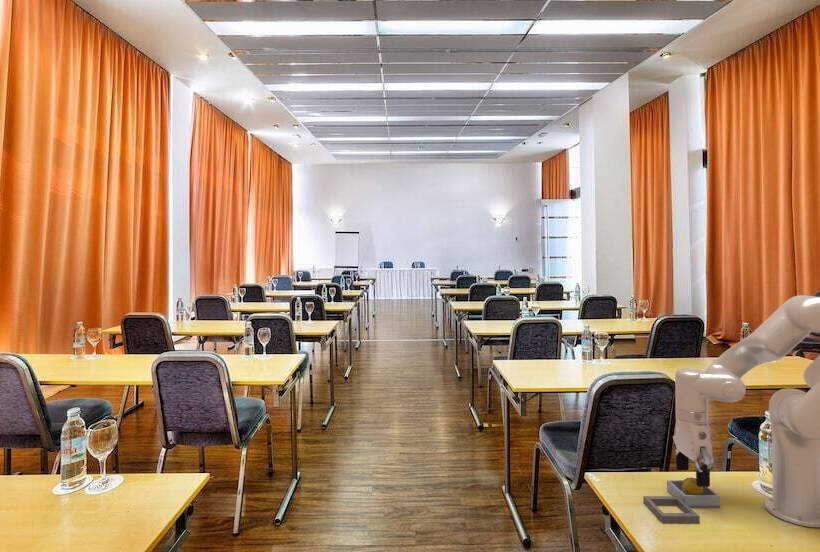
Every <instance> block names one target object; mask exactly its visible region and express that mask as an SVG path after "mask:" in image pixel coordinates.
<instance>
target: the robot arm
mask: <svg viewBox="0 0 820 552" xmlns="http://www.w3.org/2000/svg"><path fill="white" fill-rule="evenodd" d="M811 333H817V334H820V296H814V295H808V294H807V295H806V294H799V295H794V296H792V297H790V298H789V299H787V300H786V301H784V303H782V304H781V305H780V306H779V307H778V308H777V309H776V310H775V311H774V312H773V313H772V314H771V315H769V316H768V317H767V318H766V319H765V320H764V321H763V322H762V323H761V324H760V325H759V326H758V327H757V328H755V330H754V331H753V332H752V333H750V334H749V335H748V336H746V337H745V338H743V339H741V340H740V341H739V342H737V343H735V344H734V345H732V346H731V347H729V348H728V349H726V350H725V351H724V352H723V353H721V355H720V356H718V357H717V358H716V360H714V361H713V362H712V363H711V364H710V365H709V366H708V367H707V368H706V369H705V371H703V370H701V369H697V368H690V367H689V368H687V367H684V368H679V369H677V370H676V371H675V377H674V379H675V383H674V385H675V387H674V388H675V389H674V390H675V391H674V392H675V420H676V421H675V430H674V431H675V434H674V435H673V436H672V439H673V446H674V449H675V450H674V454H675V468H676V470H677V471H688V470H689V467H690V460H691V461H692V462H694V464H695V466H696V470H695V478H696V485H697V486H698V487H709V488H710V487H711V473H712V470H713V466H714V463H715V460H714V459H713V445H712V444H713V443H712V442H713V441H712V435H711V429H710V425H709V400H713V401H719V402H722V403H735V402H739V401H741V400H742V399H743V398H744V397H745V396H746V392H747V391H746V389H747V388H746V385H745V383H744V382H743V380H742V379H741V378H742V377H744V376H745V375H746V374H747V373H748V372H750V371H751V370H752V369H755V368H756V367H758V366H759V365H762V364H766V363H770V362H771V363H772V362H774V361H778V360H781V359H784V358H785V357H786V356H787V355H788V354H789V353H790V352H792V350H793V349H795V348H796V347H797V345H799V344H800V343H801V342H802V341H803V340H804V339H806V337H808V336H809V335H810V334H811ZM803 379H804V382H805V383H806V385H807V386H808V388H810V389H809V390H808V391H807V392H805V391H803V390H801V389H797V388H791V387H787V388H782V389H779V390H777V391H776V392H774V393H773V394H772V396H771V397H770V399H769V403H768V414H769V420H770V429H771V466H772V467H771V469H772V470H771V477H772V479H771V482H772V485H771V486H772V492H771V493H772V497H770V498H767V499H766V500H765V502H764V507H765V510H767V511H768V512H769V513H770V514H772V515H773V516H774V517H776V518H778V519H780V520H782V521H786V522H788V523H791V524H794V525H797V526H798V525H799V526H802V527H808V528H820V354H819V355H818V356H817V357H815V359H814V360H813V361H812V362H810V364H808V365H807V367H806V368H805V370H804V372H803ZM689 459H690V460H689ZM701 463H703V465H701Z"/></svg>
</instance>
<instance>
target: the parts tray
mask: <svg viewBox="0 0 820 552" xmlns="http://www.w3.org/2000/svg"><path fill="white" fill-rule="evenodd" d="M684 480H685V479H681V480H680V479H668V480H666V492H668V494H669V495H670V496H678V497H679V498H680V499H681V500H682V501H683V502H685V503H686V504H687V505H688V506H689V507H690V508H691V509H694V508H695V509H702V508H703V509H721V496H720V495H719V494H718V493H716V492H715V491H714V490H713V489H712V488H710V486H709V487H704V488H705V494H704V495H685V494H684V492H683V490H682V482H683V481H684Z"/></svg>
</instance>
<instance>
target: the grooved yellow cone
mask: <svg viewBox="0 0 820 552" xmlns="http://www.w3.org/2000/svg"><path fill="white" fill-rule="evenodd" d="M683 480H684V481H683V482H682V490H683V492H684V494H685V495H704V494H705V488H704V487H698V486H697V485H696V477H695V478H694V477H686V478H685V479H683Z"/></svg>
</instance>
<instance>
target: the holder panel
mask: <svg viewBox="0 0 820 552" xmlns="http://www.w3.org/2000/svg"><path fill="white" fill-rule="evenodd" d="M643 504H644V505H645V506H646V507H647V508H648V509H649V510H650V512H652V514H653V515H654V516H655V517H656V519H658V521H660V522H661V524H689V525H690V524H695V525H697V524H699V525H701V521H700V518H701V517H700V515H699V514H698V513H697V512H696V511H694V510H693V508H690V507H689V506H688V505H687V504H686V503H685V502H683V501H682V500H681V499H680V498H679V497H678V496H672V495H670V496H669V495H662V496H661V495H643ZM658 506H659V507H661V506H662V507H663V506H664V507H667V506H670V507H672V506H673V507H678V508H679V509H680V510H681V511H682V512H663V511H662V510H661V509H660V508H659V507H658Z"/></svg>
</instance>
